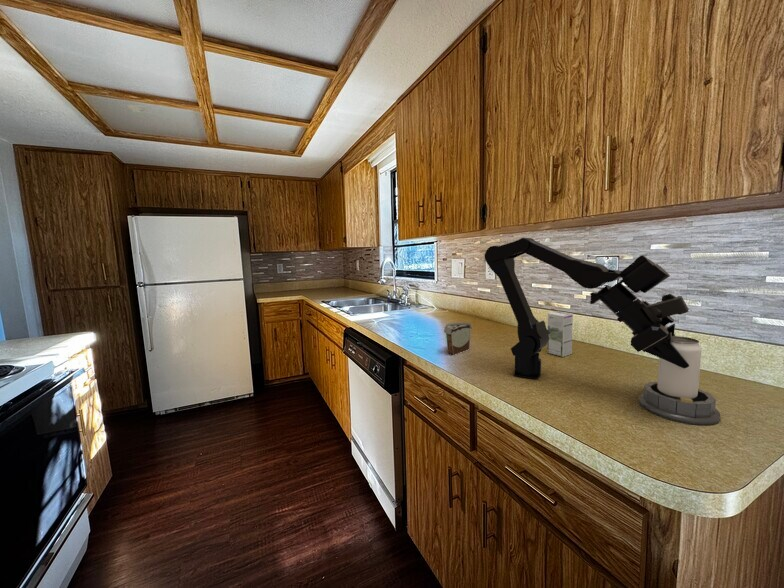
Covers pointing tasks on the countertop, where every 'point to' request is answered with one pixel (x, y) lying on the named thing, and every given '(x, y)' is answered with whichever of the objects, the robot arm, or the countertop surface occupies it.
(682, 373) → the can
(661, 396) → the collar
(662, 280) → the robot arm
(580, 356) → the countertop surface
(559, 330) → the syrup box
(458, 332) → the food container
